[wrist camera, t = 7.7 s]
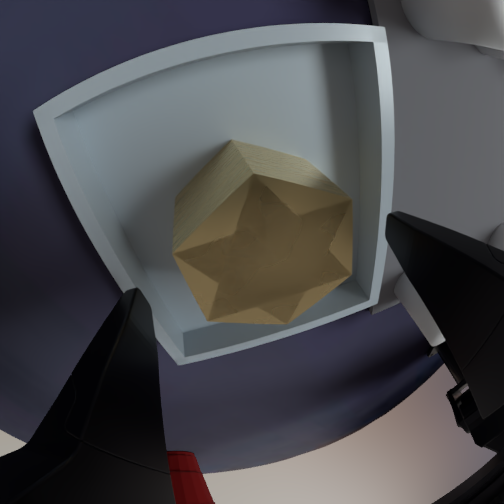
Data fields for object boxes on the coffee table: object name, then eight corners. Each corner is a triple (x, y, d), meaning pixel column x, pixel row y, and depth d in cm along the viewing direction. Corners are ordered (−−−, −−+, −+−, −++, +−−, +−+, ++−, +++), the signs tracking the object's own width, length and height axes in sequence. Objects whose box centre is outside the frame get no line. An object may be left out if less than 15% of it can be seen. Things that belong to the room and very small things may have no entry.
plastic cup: (173, 463, 36) (183, 522, 26) (126, 452, 29) (133, 522, 20) (225, 453, 34) (241, 518, 25) (180, 443, 28) (195, 526, 18)
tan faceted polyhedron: (315, 248, 13) (350, 301, 10) (210, 280, 12) (220, 344, 10) (299, 122, 9) (350, 149, 6) (161, 161, 9) (149, 206, 6)
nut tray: (361, 279, 15) (377, 303, 14) (176, 335, 15) (178, 365, 13) (353, 30, 7) (385, 27, 6) (59, 102, 7) (32, 111, 5)
